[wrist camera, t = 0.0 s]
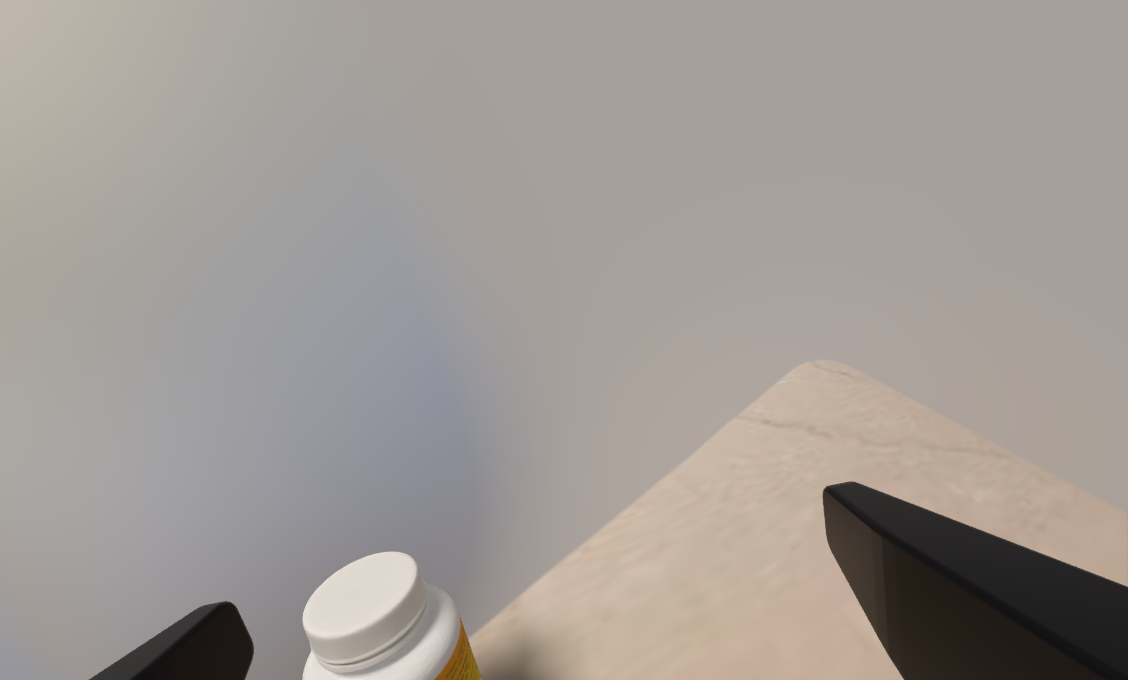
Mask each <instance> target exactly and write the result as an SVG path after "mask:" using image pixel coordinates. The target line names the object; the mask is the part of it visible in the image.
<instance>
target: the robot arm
mask: <svg viewBox="0 0 1128 680" xmlns="http://www.w3.org/2000/svg"><path fill="white" fill-rule="evenodd" d="M823 506H824V517H825V527H826V536H827V541H828V544H829V547H830V549H831V551H832V553H833V555H834V557H835V559H836V561H837V563H838V565H839V566H840V568H841V570H842V572H843V574H844V576H845V577H846V579H847V581H848V583H849V585H850V587H851V588H852V590H853V592H854V594H855V596H856V598H857V599H858V601H859V603H860V605H861V607H862V609H863V610H864V612H865V614H866V616H867V618H868V620H869V621H870V623H871V625H872V627H873V629H874V631H875V632H876V634H877V636H878V638H879V640H880V641H881V643H882V645H883V647H884V648H885V650H886V652H887V654H888V655H889V657H890V659H891V660H892V662H893V663H894V665H895V666H896V668H897V669H898V671H899V673H900V674H901V676H902V677H903V679H904V680H1128V587H1127V586H1124V585H1122V584H1119V583H1117V582H1114V581H1111V580H1109V579H1106V578H1104V577H1101V576H1098V575H1096V574H1093V573H1091V572H1088V571H1085V570H1083V569H1080V568H1078V567H1075V566H1072V565H1070V564H1067V563H1065V562H1062V561H1059V560H1057V559H1054V558H1052V557H1049V556H1046V555H1044V554H1041V553H1039V552H1036V551H1033V550H1031V549H1028V548H1026V547H1023V546H1020V545H1018V544H1015V543H1013V542H1010V541H1007V540H1005V539H1002V538H1000V537H997V536H994V535H992V534H989V533H987V532H984V531H981V530H979V529H976V528H974V527H971V526H968V525H966V524H963V523H961V522H958V521H955V520H953V519H950V518H948V517H945V516H942V515H940V514H937V513H935V512H932V511H929V510H927V509H924V508H922V507H919V506H916V505H914V504H911V503H909V502H906V501H903V500H901V499H898V498H896V497H893V496H890V495H888V494H885V493H883V492H880V491H877V490H875V489H872V488H870V487H867V486H864V485H862V484H859V483H856V482H845V483H840V484H835V485H830V486H826V488H825V489H824V490H823ZM253 654H254V646H253V641H252V639H251V636H250V635H249V632H248V630H247V628H246V626H245V624H244V622H243V620H242V618H241V616H240V614H239V611H238V610H237V608H236V606H235V605H234V604H232V603H231V602H227V601H224V602H219V603H214V604H209V605H204V606H201V607H199V608H198V609H196V610H194V611H193V612H191V613H190V614H188V615H187V616H185V617H184V618H182V619H181V620H179V621H178V622H176V623H174V624H173V625H172V626H170V627H168V628H167V629H165V630H164V631H162V632H161V633H159V634H158V635H156V636H155V637H153V638H152V639H150V640H149V641H147V642H146V643H144V644H143V645H141V646H139V647H138V648H136V649H135V650H133V651H132V652H130V653H129V654H127V655H126V656H124V657H123V658H121V659H120V660H118V661H117V662H115V663H114V664H112V665H111V666H109V667H108V668H106V669H104V670H103V671H102V672H100V673H98V674H97V675H95V676H94V677H92V678H91V679H89V680H245V678H246V676H247V673H248V670H249V667H250V665H251V662H252V659H253Z"/></svg>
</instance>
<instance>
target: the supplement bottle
mask: <svg viewBox="0 0 1128 680" xmlns="http://www.w3.org/2000/svg"><path fill="white" fill-rule="evenodd" d="M303 626H304V629H305V631H306V634H307V637H308V639H309V641H310V645H311V650H312V651H311V654H310V655H309V657H308V659H307V662H306V665H305V669H304V672H303V679H302V680H482V679H481V675H480V673H479V670H478V667H477V664H476V662H475V659H474V656H473V653H472V650H471V647H470V644H469V641H468V638H467V635H466V633H465V630H464V627H463V624H462V621H461V618H460V616H459V613H458V611H457V608H456V606H455V604H454V602H453V600H452V599H451V598H450V596H449V595H448V594H447V593H446V592H444V591H443V590H442V589H440V588H438V587H436V586H433V585H430V584H425V582H424V580H423V579H422V577H421V574H420V571H419V569H418V566H417V564H416V562H415V560H414V559H413V558H412V557H410V556H409V555H407V554H405V553H401V552H382V553H377V554H373V555H369V556H367V557H364V558H362V559H359V560H357V561H355V562H353V563H351V564H349V565H347V566H345V567H344V568H342V569H340V570H339V571H337V572H336V573H334V574H333V575H332V576H331V577H329V578H328V579H327V580H326V581H325V582H324V583H323V584H322V585H321V586H320V587H319V588H318V589H317V590H316V591H315V592H314V593H313V595H312V596H311V598H310V599H309V601H308V603H307V605H306V607H305V610H304V613H303Z"/></svg>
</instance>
